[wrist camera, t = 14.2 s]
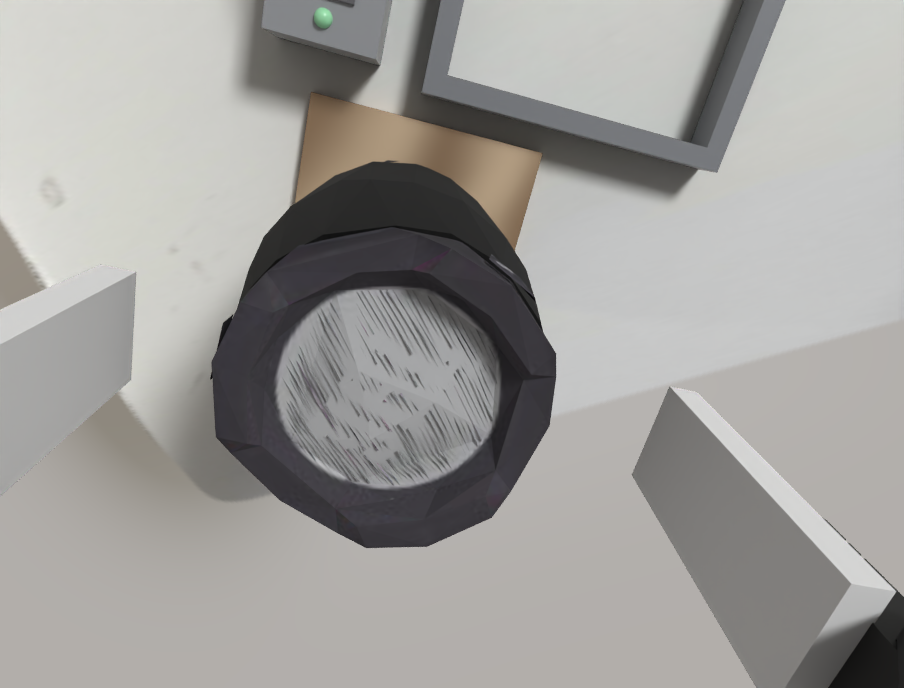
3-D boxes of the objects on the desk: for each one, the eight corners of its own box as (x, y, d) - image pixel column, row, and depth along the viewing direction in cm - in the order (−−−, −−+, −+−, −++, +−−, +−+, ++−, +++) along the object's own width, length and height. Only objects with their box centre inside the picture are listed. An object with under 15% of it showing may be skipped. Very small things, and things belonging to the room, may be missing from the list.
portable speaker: (460, 332, 33) (514, 597, 15) (299, 285, 31) (139, 518, 13) (512, 187, 30) (659, 295, 12) (338, 127, 28) (201, 146, 10)
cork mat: (540, 152, 30) (542, 153, 29) (481, 356, 34) (482, 360, 34) (313, 92, 28) (311, 91, 28) (280, 314, 32) (278, 318, 32)
